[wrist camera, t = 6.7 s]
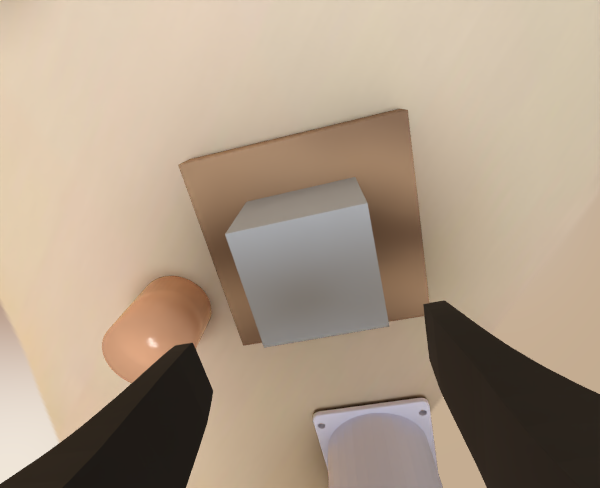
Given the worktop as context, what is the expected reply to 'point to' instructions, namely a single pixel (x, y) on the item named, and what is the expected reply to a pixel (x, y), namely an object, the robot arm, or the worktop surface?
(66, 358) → the worktop surface
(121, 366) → the cylinder
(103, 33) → the worktop surface
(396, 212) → the plinth
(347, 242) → the block
